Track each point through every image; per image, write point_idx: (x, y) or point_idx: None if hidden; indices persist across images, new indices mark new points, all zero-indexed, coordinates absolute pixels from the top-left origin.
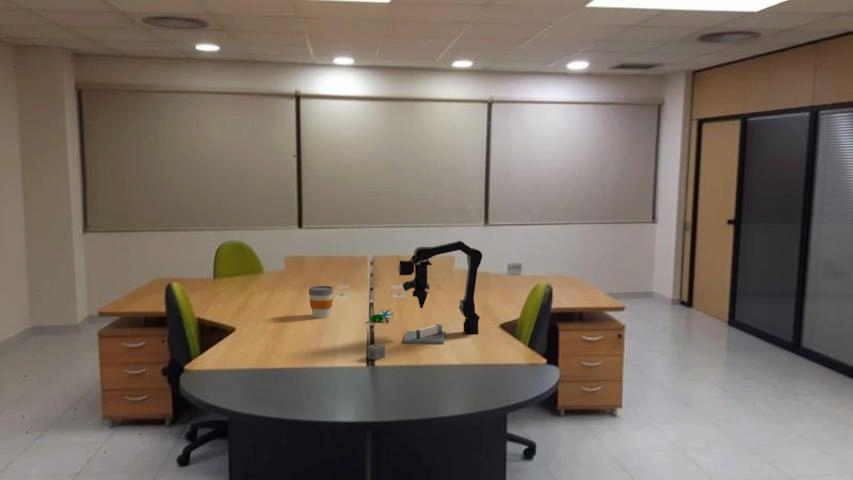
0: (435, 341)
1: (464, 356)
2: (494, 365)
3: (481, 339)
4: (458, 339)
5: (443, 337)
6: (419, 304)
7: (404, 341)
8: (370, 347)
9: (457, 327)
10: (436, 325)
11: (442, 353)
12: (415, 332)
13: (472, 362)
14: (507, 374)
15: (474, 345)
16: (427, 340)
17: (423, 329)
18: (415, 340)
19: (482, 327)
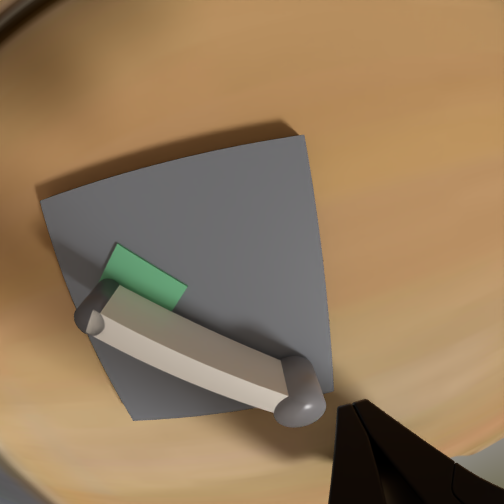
0: (115, 388)
1: (46, 463)
2: (41, 498)
3: (266, 492)
4: (241, 446)
5: (202, 412)
6: (334, 457)
7: (45, 209)
8: None
9: (452, 378)
10: (284, 403)
11: (24, 412)
12: (275, 215)
13: (22, 470)
14: (18, 501)
15: (175, 488)
16: (104, 350)
17: (130, 352)
18: (70, 282)
19: (436, 444)
